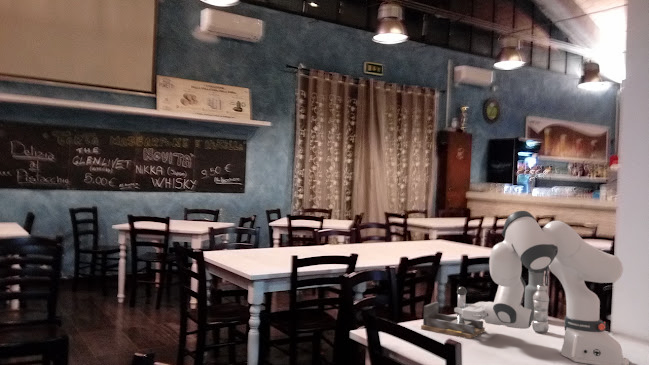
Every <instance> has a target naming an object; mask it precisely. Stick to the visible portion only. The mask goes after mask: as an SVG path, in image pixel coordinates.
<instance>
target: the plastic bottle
mask: <svg viewBox="0 0 649 365" xmlns="http://www.w3.org/2000/svg"><path fill="white" fill-rule="evenodd" d="M546 289H547V286H546V285H545V284H543V285H537V291H536V292H535V294H534V295H533V302H534V319H533V321H532V323H531V325H532V330H533V331H535V332H537V333H542V334H543V333H548V331H549V328H550V326H549V320H548V310H549V303H550V298H549V294H548V292H547V293H546V292H545V290H546Z"/></svg>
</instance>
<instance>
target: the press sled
mask: <svg viewBox="0 0 649 365" xmlns="http://www.w3.org/2000/svg"><path fill="white" fill-rule="evenodd" d="M456 290H457V291H456V293H457V308H461V309H464V308H465V304H466V296H467V293H468V291H467V289H466V287H464V286H459V287H457V289H456ZM456 315H457V316H456V317H457V319H456V320H453V321H451V322H455V323H460V324H466V325H471V326H472V322H470V321H465V318H462V316H461V314H460V313H457V312H456Z"/></svg>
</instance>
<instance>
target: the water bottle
mask: <svg viewBox="0 0 649 365" xmlns="http://www.w3.org/2000/svg"><path fill="white" fill-rule="evenodd" d="M549 271H550V268H549V266H547V267H546V268H544V269H541V270H529V269H528V284H526V287H525V290H524V304H523V305H524V308H528V309H531V310H532V312H533V317H532V322H533V319H534V302H533V295H534V294H535V292H536V291H537V285H545V286H546V287H549ZM545 292H546V293H547V294H548V289H547V288H546V290H545Z"/></svg>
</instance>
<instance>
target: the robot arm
mask: <svg viewBox="0 0 649 365" xmlns="http://www.w3.org/2000/svg"><path fill="white" fill-rule="evenodd" d="M501 235H502V236H503V238H504V239H503V241H500V242H498V243H496V244H495V245H493V247H492V248H491V250H490V254H489V260H488V263H489V274H490V277H491V279H492V281H493V282H494V283H495V284H497V285H498V286H497V291H496V293H495V296H494V300H493V301H478V302H475V303H465V308H464V309H461V308H457V307H458V306H457V307H454V308H453V309H454V310H453V311H454V313H456V314H457V313H460V314H461V316H462V318H465V319H472V320H479V321H483V320H484V322H485V323H486V324H488V325H494V326H505V327H508V328H512V329H520V330H523V329H525V330H526V329H529V328H531V325H532V323H533V321H532V317H533V312H532V310H531V309H528V308H524V307H523V305H522V304H521V303H522V299H523V297H524V294H525V287H526V286H527V284H526V282H525V279H524V278H523V277H522V271H523V267H522V266H524V267H525V268H526V269H528V270H541V269H544V268H546V267H547V266H549V271H550V272H551V273H552V274H553V275H554V276H555V277H556V278H557V279H558V280H559V282H560V284H561V285H562V288H563V290H564V294H565V300H566V302H565V304H566V310H565V311H566V314H565V316H564V326H563V327H564V339H563V342H562V347H561V349H560V355H562V356H564V357H566V358H568V359H570V360H572V361H573V362H575V363H582V364H589V365H630V359H629V358H628V357H627V356H624V354H623V349H622V346H621V344H620V342H619V341H618V340H616V339H615V337H613V336H611V335H610V334H609V333H608V332H607V331H606V321H603V320H602V319H600V309H601V307H600V305H601V301H600V298H599V297H598V294H596V293H595V292H593V291H592V290H590V289H589V288H588V287H587V285H586V283H585V282H592V283H598V284H604V283H605V284H607V283H608V284H609V283H616V282H617V281H619V279H620V278H621V277H622V275H623V273H624V272H623V271H624V268H623V263H622V261H621V260H620V258H619V257H618V256H616V255H613V254H610V253H607V252H605V251H603V250H601V249H599V248H597V247H595V246H593V245H591V244H589V243H588V242H586V241H585V240H584V239H583V238H582V237H581V236H580V235H579V234H578V232H577V231H576V230H575V229H574V228H573V227H571V225H569V224H567V223H565V222H563V221H561V220H552V221H549V222H547V223H546V224H545V225H544V226H543V227H542V228H541V226H540V224H539V222H537V220H536V217H535V216H533V214H531V213H530V212H529V211H527V210H517V211H515V212H512V213H511V214H510V215H508V217H507V218H506V220H505V222H504V226H503V230H502V231H501Z"/></svg>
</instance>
